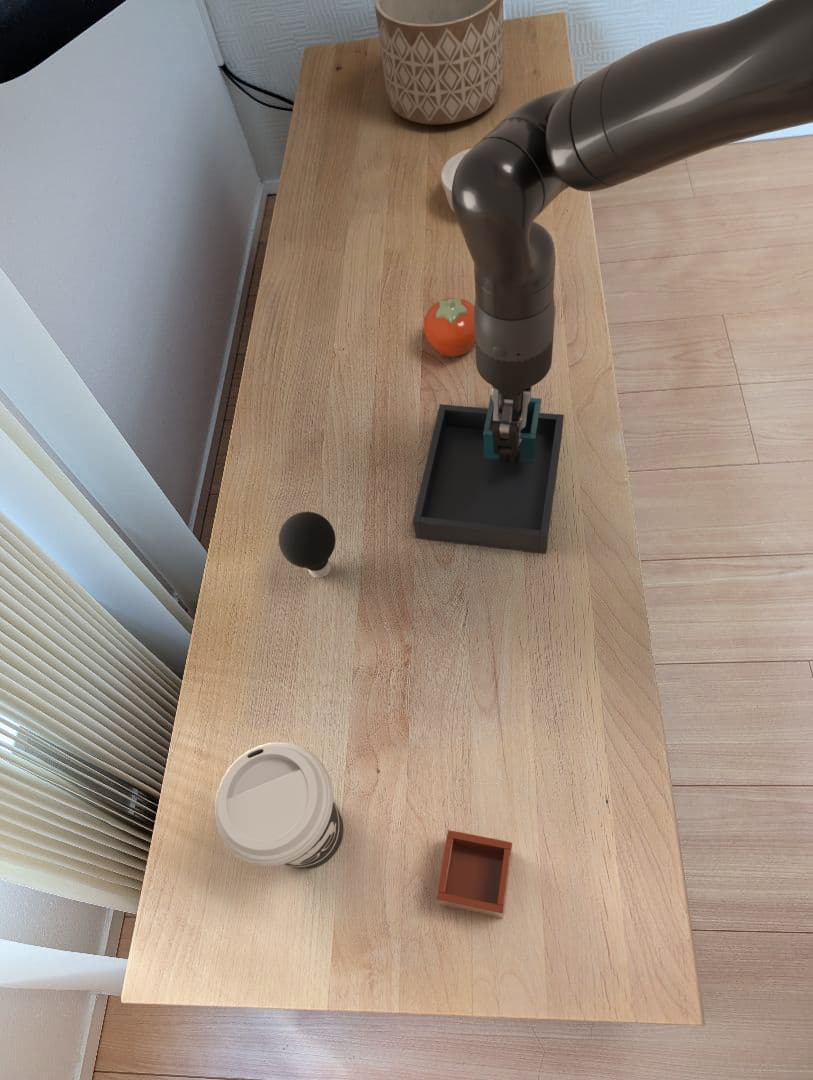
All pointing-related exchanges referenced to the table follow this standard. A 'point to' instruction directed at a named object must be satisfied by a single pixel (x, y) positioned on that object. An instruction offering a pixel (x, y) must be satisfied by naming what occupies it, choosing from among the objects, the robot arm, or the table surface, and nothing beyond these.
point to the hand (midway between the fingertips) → (513, 438)
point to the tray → (486, 486)
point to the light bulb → (308, 542)
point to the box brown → (475, 873)
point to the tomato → (450, 327)
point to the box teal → (527, 433)
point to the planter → (441, 57)
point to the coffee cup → (279, 808)
